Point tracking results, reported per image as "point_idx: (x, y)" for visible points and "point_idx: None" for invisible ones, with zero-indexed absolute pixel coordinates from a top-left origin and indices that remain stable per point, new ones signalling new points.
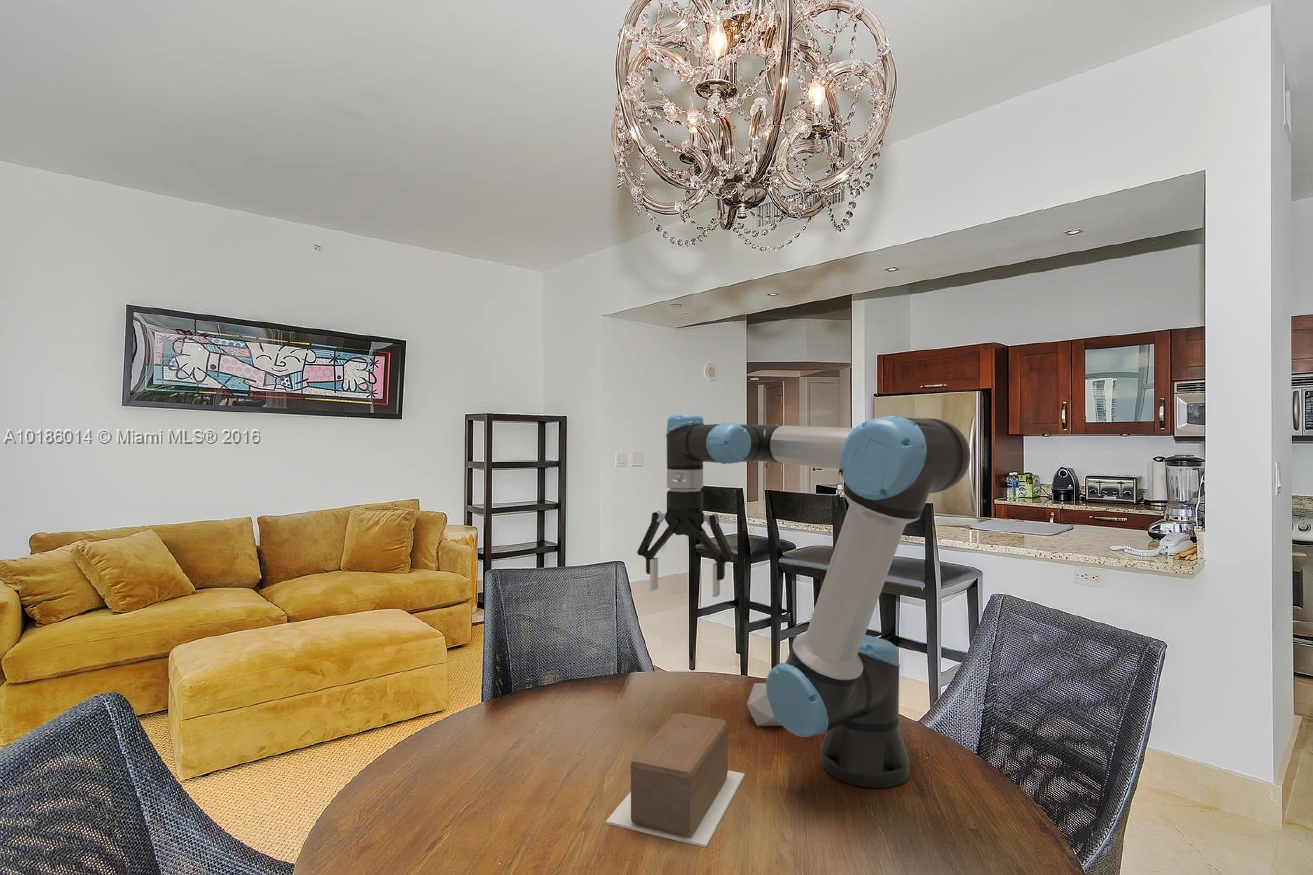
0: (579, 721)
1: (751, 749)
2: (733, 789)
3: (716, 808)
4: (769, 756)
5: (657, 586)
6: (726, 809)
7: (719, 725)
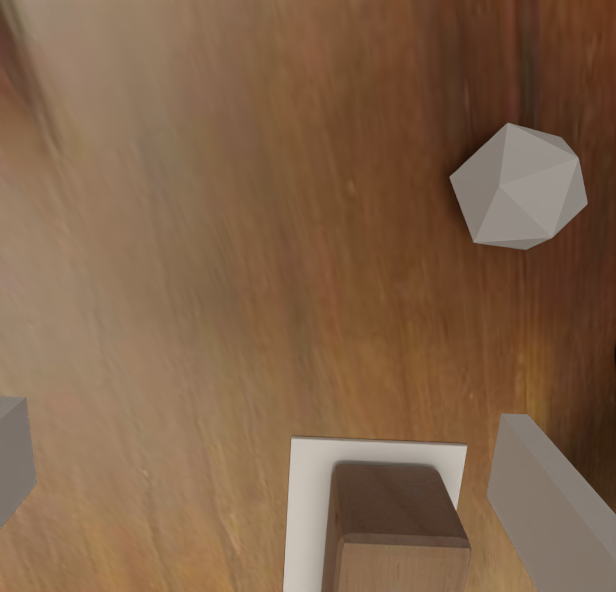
0: (43, 330)
1: (468, 339)
2: (453, 500)
3: None
4: (508, 357)
5: (16, 414)
6: None
7: (460, 581)
